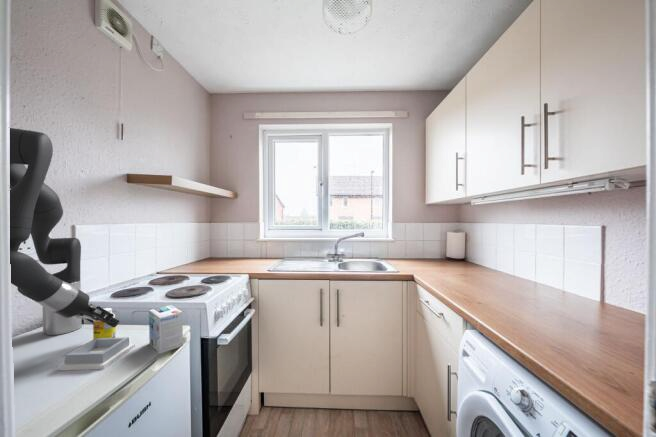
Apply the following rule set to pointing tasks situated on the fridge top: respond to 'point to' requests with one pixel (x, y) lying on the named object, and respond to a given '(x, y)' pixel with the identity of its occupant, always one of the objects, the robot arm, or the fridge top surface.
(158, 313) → the light bulb box
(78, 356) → the grey tray
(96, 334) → the supplement bottle
